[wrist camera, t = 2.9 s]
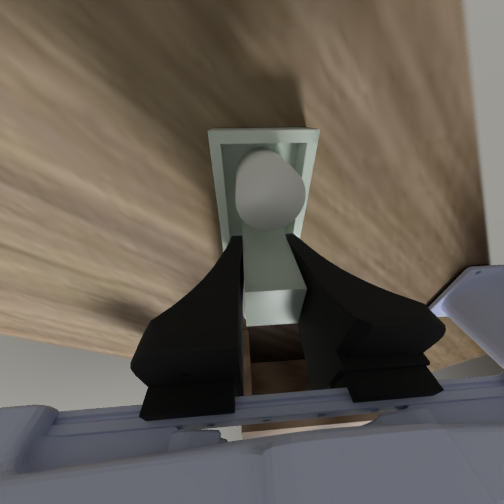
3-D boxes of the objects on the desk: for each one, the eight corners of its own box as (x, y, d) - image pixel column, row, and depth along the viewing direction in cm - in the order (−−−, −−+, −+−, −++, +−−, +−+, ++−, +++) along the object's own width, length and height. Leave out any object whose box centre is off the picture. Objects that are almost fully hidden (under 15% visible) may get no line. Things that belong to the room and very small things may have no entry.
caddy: (306, 127, 10) (402, 142, 4) (283, 281, 17) (306, 363, 11) (212, 128, 9) (175, 146, 4) (230, 284, 17) (227, 369, 11)
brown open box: (352, 322, 22) (406, 417, 15) (330, 359, 29) (359, 437, 22) (240, 329, 21) (241, 432, 14) (243, 366, 28) (245, 449, 21)
